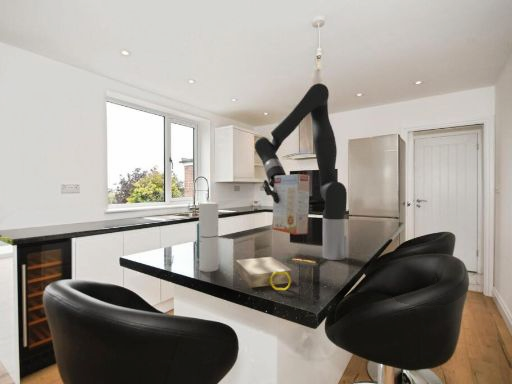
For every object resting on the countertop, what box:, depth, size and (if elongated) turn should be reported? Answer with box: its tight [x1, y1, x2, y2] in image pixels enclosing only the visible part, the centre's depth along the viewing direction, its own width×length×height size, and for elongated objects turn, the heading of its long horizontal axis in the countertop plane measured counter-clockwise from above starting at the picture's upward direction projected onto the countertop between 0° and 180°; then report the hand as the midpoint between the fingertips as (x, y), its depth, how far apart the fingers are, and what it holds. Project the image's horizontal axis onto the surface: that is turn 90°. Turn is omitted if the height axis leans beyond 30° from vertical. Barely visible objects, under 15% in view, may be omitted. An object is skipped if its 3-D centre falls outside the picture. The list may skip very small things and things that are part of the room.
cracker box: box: [271, 173, 311, 235], centre depth 99 cm, size 14×6×21 cm, turn 32°
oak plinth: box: [235, 256, 293, 288], centre depth 93 cm, size 14×18×4 cm
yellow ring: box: [270, 269, 291, 291], centre depth 81 cm, size 6×3×6 cm, turn 80°
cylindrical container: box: [198, 202, 220, 273], centre depth 102 cm, size 7×7×25 cm
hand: (286, 201), depth 100 cm, fingers closed on cracker box, 6 cm apart
